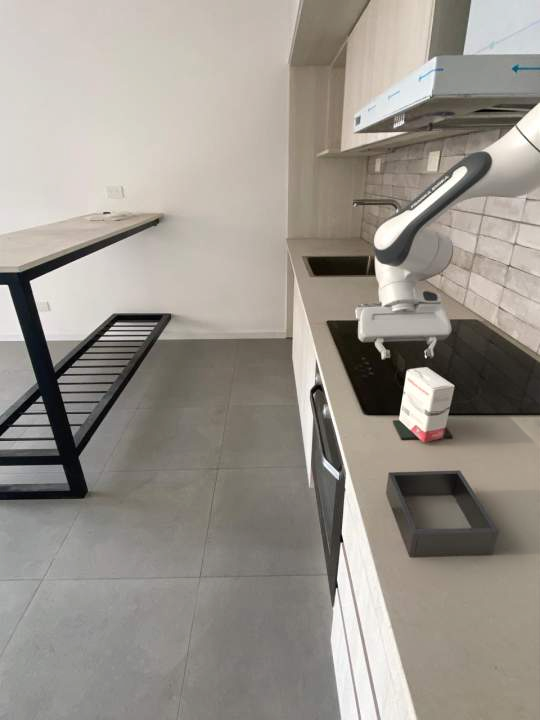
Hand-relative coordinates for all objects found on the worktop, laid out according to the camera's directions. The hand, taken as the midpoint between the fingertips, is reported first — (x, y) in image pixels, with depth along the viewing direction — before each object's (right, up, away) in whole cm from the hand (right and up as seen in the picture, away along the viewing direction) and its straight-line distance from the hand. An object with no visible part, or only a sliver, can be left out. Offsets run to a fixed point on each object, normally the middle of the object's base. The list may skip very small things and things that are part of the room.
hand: (407, 358), depth 87 cm
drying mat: (0, -15, -6) cm, 16 cm away
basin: (-6, -25, -27) cm, 37 cm away
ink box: (0, -14, -7) cm, 16 cm away
